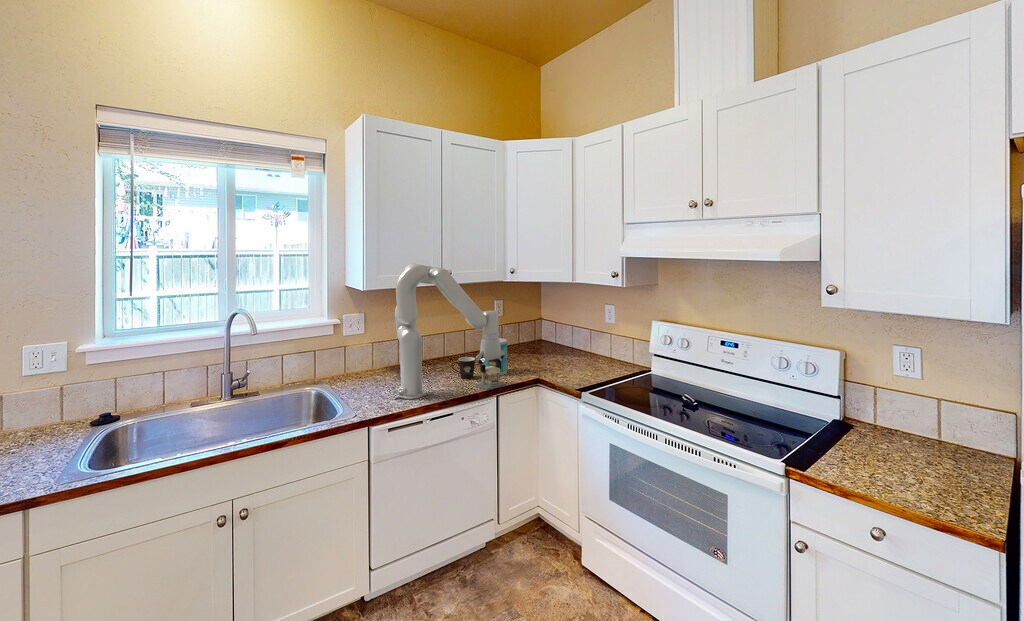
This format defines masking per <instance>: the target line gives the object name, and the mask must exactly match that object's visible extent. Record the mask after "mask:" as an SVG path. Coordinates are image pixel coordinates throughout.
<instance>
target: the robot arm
mask: <svg viewBox="0 0 1024 621" xmlns="http://www.w3.org/2000/svg"><path fill="white" fill-rule="evenodd" d="M419 284H426V285H434V286H436V288H437V289H438V290H439V292H440V293H441V294H442V295H443V296H444V298H445V299H446V300H447V301H448V302H449V303H450V304H451V305H452V306H453V307H454V308H455V309H457V310H458V311H459V312H460V313H461V314H462V315H463V316H464V317H465V323H467V324H468V326H470V327H472V328H474V329H477V330H481V329H482V339H481V340H480V346H479V354H477V355H476V356H475V360H476V362H477V363H478V364H479V368H480V373H481V374H482V373H485V372H486V370H485V362H486V361H488V360H493V359H497V360H496V367H497V368H500V369H501V361H502V359H503V358H504V354H505V351H503V350H501V346H500V340H499V338H500V337H499V336H500V334H501V333H500V332H499V312H498V311H496V310H485V311H483V310H481V309H480V307H479V306H478V305H477V304H476V302H474V301H473V300H472V298H470V296H469V295H468V294H467V292H465V290H464V289H463V288H462V287H461V285H460V284H459V283H458V282H457V281H456V279H455V278H454V277H453V275H452V274H451V273H450V272H449V270H447V269H446V268H445V267H440V266H439V267H438V266H432V265H423V264H416V263H409V264H408V265H406V266H405V267H404V271H403V272H402V273H401V275H400V276H399V278H398V279H397V283H396V284H395V285H396V286H395V294H396V296H395V297H396V306H395V309H394V320H395V329H396V337H397V339H398V341H399V362H400V365H399V367H400V385H399V387H398V388H396V389H392V390H391V391H390V393H391V395H395V394H396V395H397V396H398V397H399V398H400V399H404V400H405V399H406V400H413V399H419V398H422V397H425V396H426V395H427V391H426V390H425V388H424V389H423V369H422V368H423V365H422V364H423V360H422V346H423V341H422V340H423V339H422V334H421V332H420V330H418V328H417V326H418V324H417V320H418V318H419V317H418V316H419V311H418V306H417V296H416V293H417V292H416V290H417V286H418V285H419ZM485 374H486V373H485Z"/></svg>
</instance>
